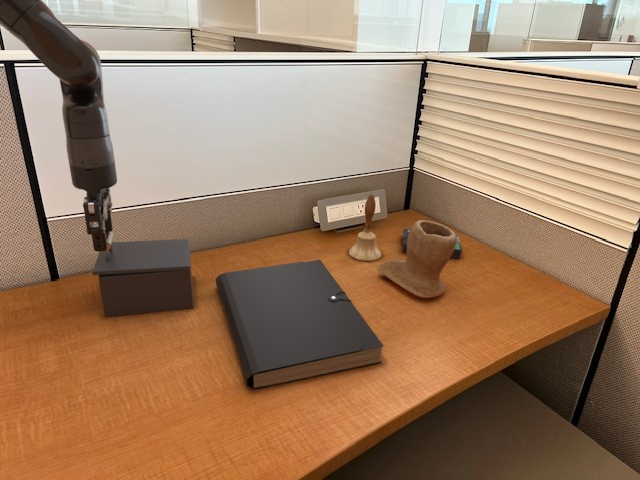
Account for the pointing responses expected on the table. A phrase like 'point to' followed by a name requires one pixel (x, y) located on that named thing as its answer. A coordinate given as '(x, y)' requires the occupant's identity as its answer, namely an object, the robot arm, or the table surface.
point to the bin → (146, 292)
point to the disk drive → (455, 253)
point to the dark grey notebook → (294, 324)
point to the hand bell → (366, 237)
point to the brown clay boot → (422, 259)
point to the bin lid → (142, 256)
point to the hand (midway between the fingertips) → (104, 240)
